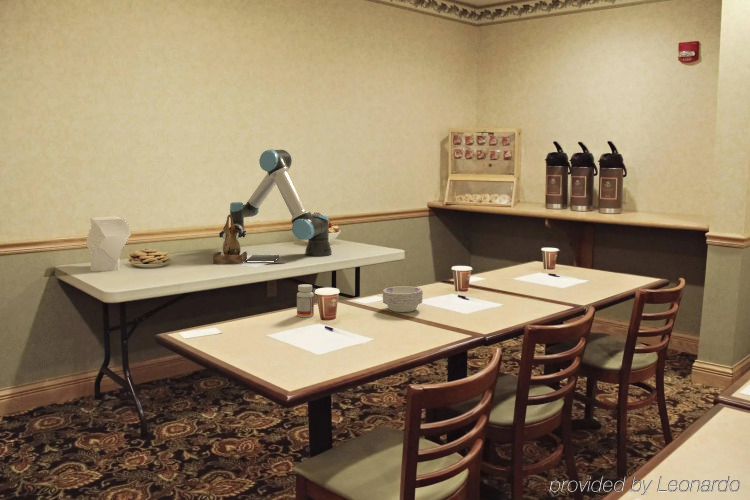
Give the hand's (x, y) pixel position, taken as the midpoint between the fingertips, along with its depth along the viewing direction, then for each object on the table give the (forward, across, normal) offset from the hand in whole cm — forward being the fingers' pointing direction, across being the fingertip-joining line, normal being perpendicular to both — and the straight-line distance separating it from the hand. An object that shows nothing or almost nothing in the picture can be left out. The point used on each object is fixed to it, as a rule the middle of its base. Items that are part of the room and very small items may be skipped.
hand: (230, 236), depth 361 cm
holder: (-1, 0, -14) cm, 14 cm away
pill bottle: (+119, -41, -14) cm, 127 cm away
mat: (-7, -17, -14) cm, 22 cm away
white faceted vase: (+14, +59, -14) cm, 62 cm away
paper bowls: (+112, -78, -14) cm, 137 cm away
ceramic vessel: (-5, 0, -14) cm, 15 cm away
